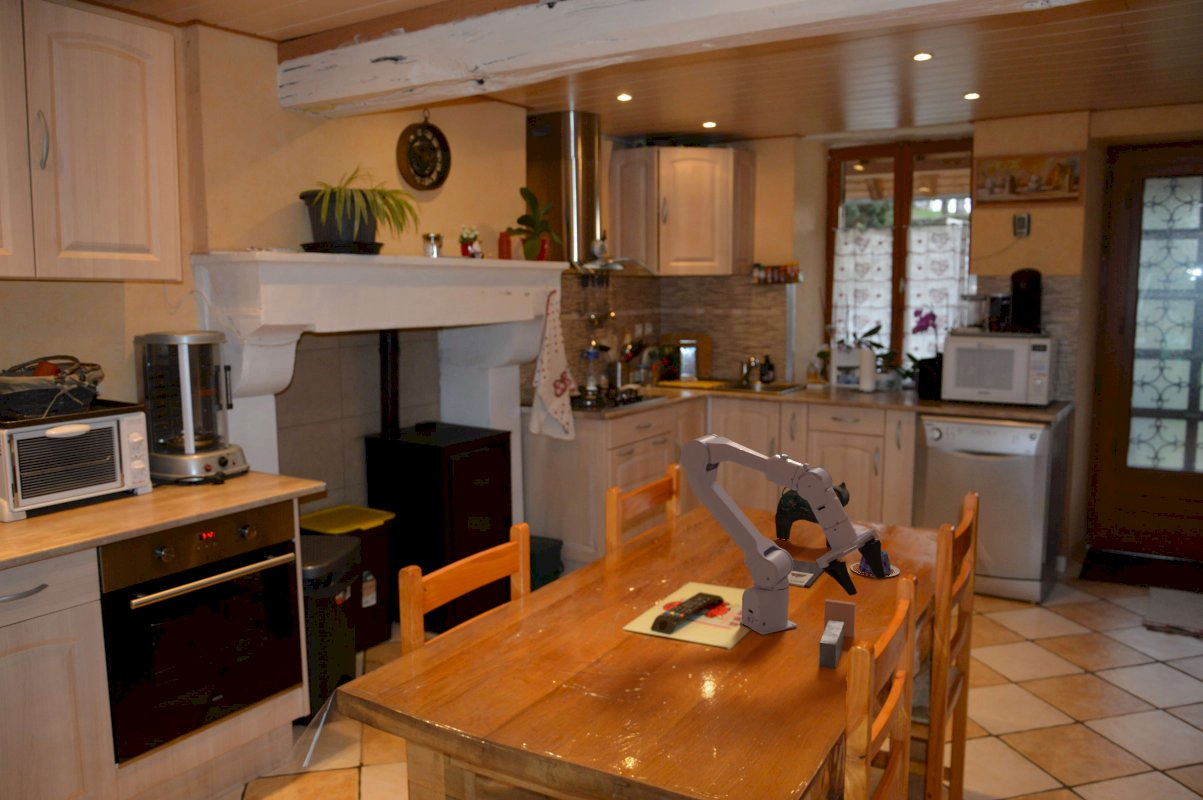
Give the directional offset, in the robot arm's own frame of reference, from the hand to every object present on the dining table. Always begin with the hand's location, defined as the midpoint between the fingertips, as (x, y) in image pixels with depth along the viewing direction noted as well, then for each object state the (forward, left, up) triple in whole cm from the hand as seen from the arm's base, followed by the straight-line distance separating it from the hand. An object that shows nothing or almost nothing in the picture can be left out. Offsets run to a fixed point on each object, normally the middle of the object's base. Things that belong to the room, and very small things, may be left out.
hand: (867, 586), depth 183 cm
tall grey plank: (-10, -1, -12) cm, 16 cm away
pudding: (+36, +32, -13) cm, 50 cm away
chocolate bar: (+18, +39, -13) cm, 45 cm away
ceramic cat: (+38, +58, -12) cm, 71 cm away
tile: (-1, +6, -12) cm, 14 cm away
